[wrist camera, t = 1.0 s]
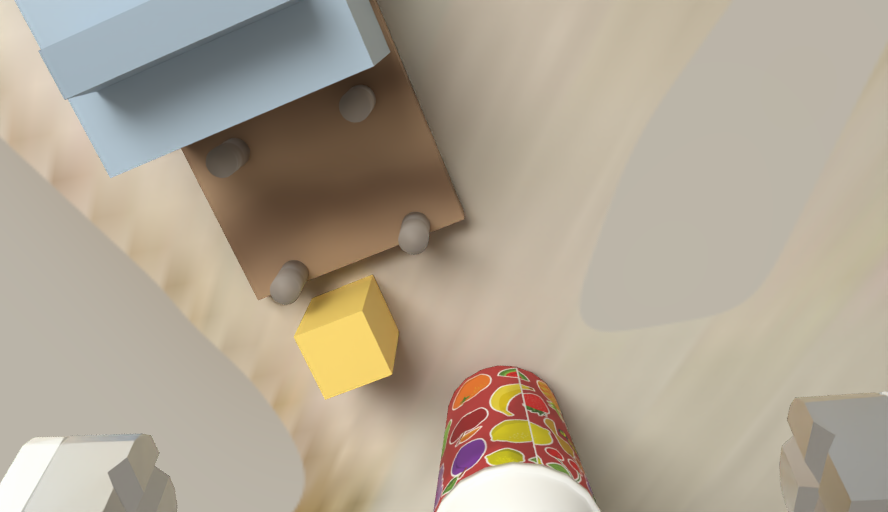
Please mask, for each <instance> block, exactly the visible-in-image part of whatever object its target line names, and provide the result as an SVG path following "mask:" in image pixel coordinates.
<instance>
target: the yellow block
mask: <svg viewBox="0 0 888 512" xmlns="http://www.w3.org/2000/svg"><path fill="white" fill-rule="evenodd" d="M398 336H399V331H398V328H397V326H396V324H395V322H394V320H393V318H392V315H391V313H390V311H389V309H388V307H387V305H386V302H385V300H384V298H383V296H382V294H381V291H380V289H379V287H378V285H377V283H376V281H375V278H374V276H373V275H371V276H368V277H365V278H363V279H360V280H358V281H355V282H353V283H350V284H347V285H345V286H342V287H340V288H337V289H335V290H332V291H330V292H327V293H324V294H322V295H319V296H317V297H314V298H312V300H311V302H310V304H309V306H308V308H307V310H306V312H305V314H304V317H303V319H302V321H301V323H300V325H299V327H298V329H297V331H296V333H295V335H294V339H295V341H296V343H297V344H298V346H299V348H300V350H301V352H302V354H303V356H304V358H305V360H306V362H307V364H308V366H309V368H310V370H311V372H312V374H313V376H314V378H315V380H316V382H317V384H318V386H319V388H320V390H321V392H322V394H323V396H324V398H325V400H326V399H328V398H331V397H334V396H336V395H339V394H342V393H344V392H347V391H350V390H353V389H355V388H358V387H361V386H363V385H366V384H369V383H371V382H374V381H377V380H379V379H382V378H385V377H387V376H390V375H392V373H393V367H394V361H395V355H396V349H397V342H398Z"/></svg>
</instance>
